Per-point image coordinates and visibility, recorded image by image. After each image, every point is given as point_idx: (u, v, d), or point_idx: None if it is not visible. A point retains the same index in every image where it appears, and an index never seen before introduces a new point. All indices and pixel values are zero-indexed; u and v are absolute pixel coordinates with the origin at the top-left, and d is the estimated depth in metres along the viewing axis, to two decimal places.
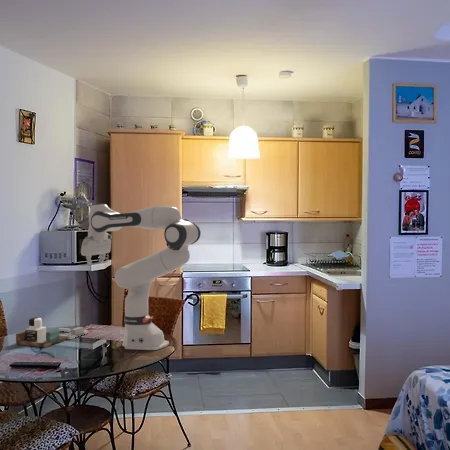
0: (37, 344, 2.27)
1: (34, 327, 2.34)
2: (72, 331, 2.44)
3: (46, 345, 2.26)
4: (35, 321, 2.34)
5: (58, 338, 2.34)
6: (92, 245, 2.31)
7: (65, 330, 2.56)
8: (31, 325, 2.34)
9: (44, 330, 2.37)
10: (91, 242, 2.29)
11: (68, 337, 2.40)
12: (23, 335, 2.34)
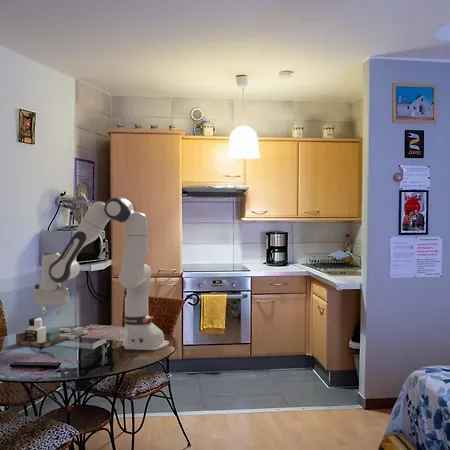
0: (37, 344, 2.27)
1: (34, 327, 2.34)
2: (72, 331, 2.44)
3: (46, 345, 2.26)
4: (35, 321, 2.34)
5: (58, 338, 2.34)
6: None
7: (65, 330, 2.56)
8: (31, 325, 2.34)
9: (44, 330, 2.37)
10: None
11: (68, 337, 2.40)
12: (23, 335, 2.34)
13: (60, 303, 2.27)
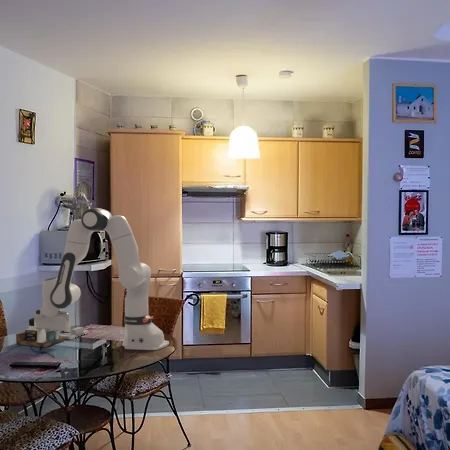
0: (37, 344, 2.27)
1: (34, 327, 2.34)
2: (72, 331, 2.44)
3: (46, 345, 2.26)
4: None
5: None
6: None
7: None
8: (31, 325, 2.34)
9: (44, 330, 2.37)
10: None
11: (68, 337, 2.40)
12: (23, 335, 2.34)
13: (61, 328, 2.27)
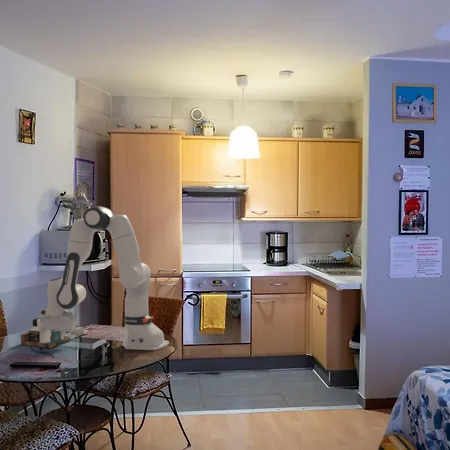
0: (42, 345, 2.26)
1: (37, 328, 2.32)
2: (72, 331, 2.44)
3: (51, 346, 2.25)
4: (38, 322, 2.32)
5: (63, 339, 2.32)
6: None
7: None
8: (34, 325, 2.32)
9: (48, 331, 2.35)
10: None
11: (68, 337, 2.40)
12: (28, 336, 2.33)
13: (66, 329, 2.26)
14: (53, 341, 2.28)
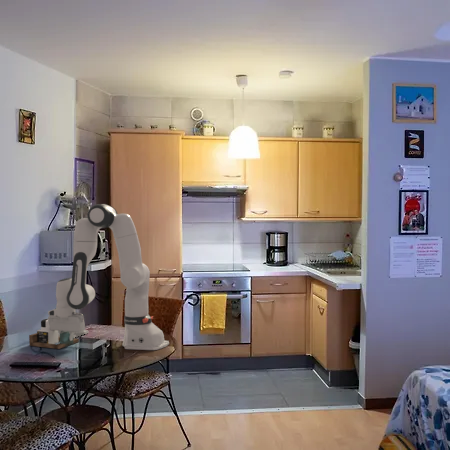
0: (51, 346, 2.24)
1: (45, 328, 2.30)
2: None
3: (60, 347, 2.23)
4: (46, 322, 2.30)
5: None
6: None
7: None
8: (43, 326, 2.30)
9: (56, 332, 2.33)
10: None
11: None
12: (36, 336, 2.31)
13: (75, 330, 2.24)
14: (62, 342, 2.26)
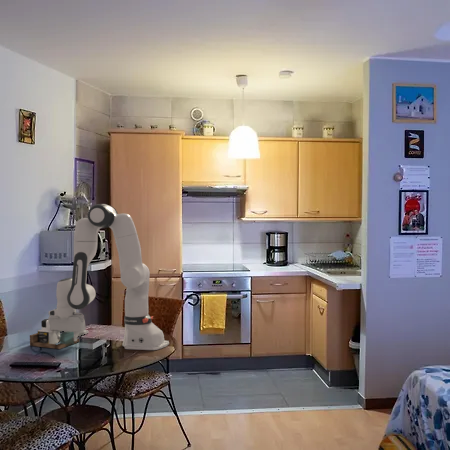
0: (51, 346, 2.24)
1: (46, 328, 2.30)
2: None
3: (61, 347, 2.23)
4: (47, 322, 2.30)
5: (72, 340, 2.30)
6: None
7: None
8: (43, 326, 2.30)
9: None
10: None
11: None
12: (37, 336, 2.31)
13: (76, 330, 2.24)
14: (62, 342, 2.26)
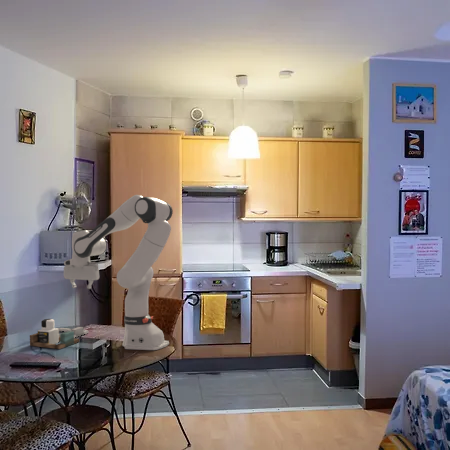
0: (51, 346, 2.24)
1: (46, 328, 2.30)
2: None
3: (61, 347, 2.23)
4: (47, 322, 2.30)
5: (72, 340, 2.30)
6: None
7: (65, 330, 2.56)
8: (43, 326, 2.30)
9: (56, 332, 2.33)
10: None
11: None
12: (37, 336, 2.31)
13: (91, 277, 2.39)
14: (62, 342, 2.26)
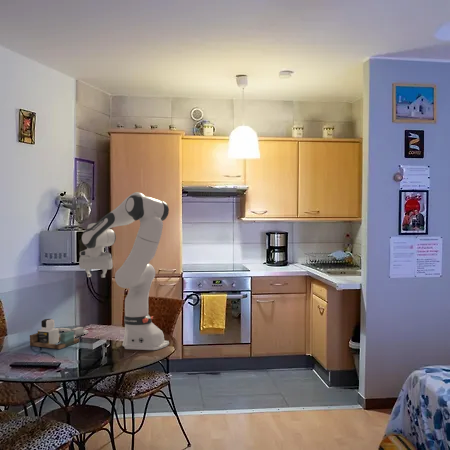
0: (51, 346, 2.24)
1: (46, 328, 2.30)
2: None
3: (61, 347, 2.23)
4: (47, 322, 2.30)
5: (72, 340, 2.30)
6: None
7: (65, 330, 2.56)
8: (43, 326, 2.30)
9: (56, 332, 2.33)
10: None
11: None
12: (37, 336, 2.31)
13: (104, 267, 2.55)
14: (62, 342, 2.26)
